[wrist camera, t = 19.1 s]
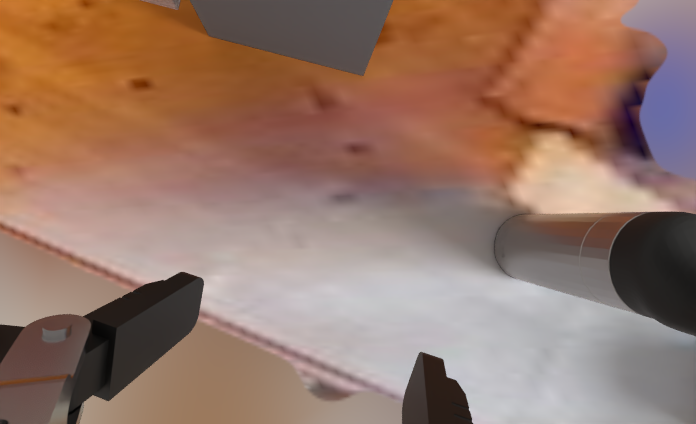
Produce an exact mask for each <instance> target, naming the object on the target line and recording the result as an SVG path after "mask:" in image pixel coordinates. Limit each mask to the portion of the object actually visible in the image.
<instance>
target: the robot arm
mask: <svg viewBox="0 0 696 424" xmlns="http://www.w3.org/2000/svg"><path fill="white" fill-rule="evenodd" d="M495 256H496V259H497V262H498V263H499V265H500V267H501V268H502V269H503V270H504V272H505V273H507V274H508V275H509V276H511V277H513V278H515V279H518V280H522V281H525V282H529V283H532V284H535V285H539V286H542V287H546V288H549V289H553V290H556V291H559V292H563V293H566V294H570V295H573V296H577V297H580V298H584V299H587V300H591V301H594V302H598V303H601V304H605V305H608V306H612V307H616V308H619V309H623V310H626V311H630V312H633V313H637V314H640V315H643V316H646V317H650V318H653V319H655V320H657V321H658V322H660V323H662V324H664V325H666V326H668V327H670V328H673V329H676V330H678V331H681V332H684V333H688V334H691V335H694V336H696V214H691V213H686V212H624V213H577V214H522V215H517V216H514V217H512V218H510V219H509V220H507V221H506V222H505V223H504V224H503V225H502V226H501V228H500V229H499V231H498V233H497V236H496V239H495ZM203 286H204V281H203V279H202V278H200V277H197V276H194V275H191V274H188V273H185V272H180V273H178V274H176V275H174V276H172V277H171V278H169V279H167V280H165V281H164V280H161V281H157V282H152V283H148V284H145V285H143V286H141V287H140V288H138V289H136V290H134V291H133V292H130V293H128V294H126V295H124V296H123V297H122V298H118V299H117V300H114V301H112V302H110V303H108V304H106V305H104V306H102V307H100V308H99V309H97V310H95V311H93V312H91V313H89V314H87V315H85V316H83V317H82V316H79V315H72V314H63V315H55V316H49V317H45V318H42V319H39V320H37V321H34V322H32V323H30V324H29V325H27V326H26V327H19V326H10V325H0V424H79V423H80V419H81V416H82V413H83V408H84V401H86V400H87V399H88V398H89V397H91V396H92V395H94V396H97V397H99V398H102V399H104V400H107V401H109V400H111V399H112V398H113V397H114V396H115V395H117V394H118V393H119V392H120V391H121V390H122V389H124V388H125V387H126V386H127V385H128V384H130V383H131V382H132V381H133V380H134V379H135V378H137V377H138V376H139V375H140V374H141V373H143V372H144V371H145V370H146V369H147V368H148V367H150V366H151V365H152V364H153V363H154V362H156V361H157V360H158V359H159V358H160V357H162V356H163V355H164V354H165V353H166V352H168V351H169V350H170V349H171V348H172V347H173V346H175V345H176V344H177V343H178V342H179V341H181V340H182V339H183V338H184V337H185V336H186V335H188V334H189V333H190V332H191V330H192V329H193V327H194V326H195V324H196V322H197V319H198V315H199V309H200V304H201V298H202V292H203ZM402 424H473V423H472V418H471V414H470V411H469V406H468V402H467V398H466V394H465V393H464V391H463V390H462V388H461V387H460V385H459V384H458V383H457V381H456V380H454V379H451V378H448V377H447V376H446V371H445V366H444V361H443V359H441V358H438V357H435V356H432V355H429V354H426V353H423V352H420V353H419V355H418V357H417V360H416V363H415V366H414V368H413V371H412V374H411V377H410V380H409V383H408V385H407V388H406V392H405V395H404V400H403V407H402Z"/></svg>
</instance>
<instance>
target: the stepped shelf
mask: <svg viewBox="0 0 696 424" xmlns="http://www.w3.org/2000/svg"><path fill="white" fill-rule="evenodd" d="M190 1H191V3H192V5H193V7H194V9H195V11H196V13H197V15H198V16H199V18H200V20H201V22H202V24H203V26H204V28H205V30H206V31H207V33H208V35H209V36H211V37H214V38H218V39H222V40H226V41H230V42H234V43H238V44H242V45H245V46H249V47H253V48H257V49H261V50H265V51H269V52H273V53H276V54H280V55H284V56H288V57H292V58H296V59H300V60H304V61H307V62H311V63H315V64H319V65H323V66H327V67H331V68H334V69H338V70H342V71H346V72H350V73H354V74H358V75H362V76H363V75H364V73H365V70H366V67H367V65H368V62H369V60H370V57H371V55H372V52H373V50H374V47H375V45H376V42H377V40H378V37H379V35H380V32H381V30H382V27H383V25H384V22H385V20H386V17H387V15H388V12H389V10H390V7H391V5H392V2H393V0H190Z"/></svg>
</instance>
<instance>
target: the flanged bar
mask: <svg viewBox="0 0 696 424" xmlns="http://www.w3.org/2000/svg"><path fill="white" fill-rule="evenodd" d="M141 1H145V2H149V3H153V4H157V5H160V6H164V7H168V8H172V9H176V10H178V8H179V4H180V0H141Z"/></svg>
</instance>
